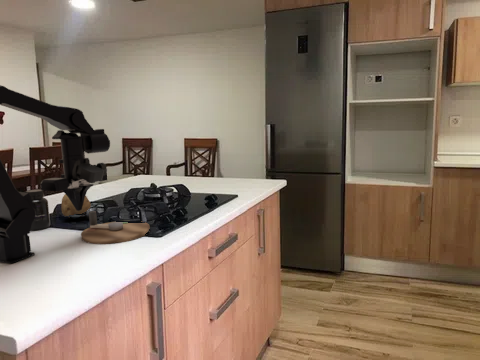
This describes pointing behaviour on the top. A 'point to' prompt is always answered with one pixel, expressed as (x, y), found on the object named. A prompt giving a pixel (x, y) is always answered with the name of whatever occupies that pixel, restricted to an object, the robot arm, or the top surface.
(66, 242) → the top surface
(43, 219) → the supplement bottle
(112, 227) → the multicoloured piece
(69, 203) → the natural sponge
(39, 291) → the top surface
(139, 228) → the round wooden board
